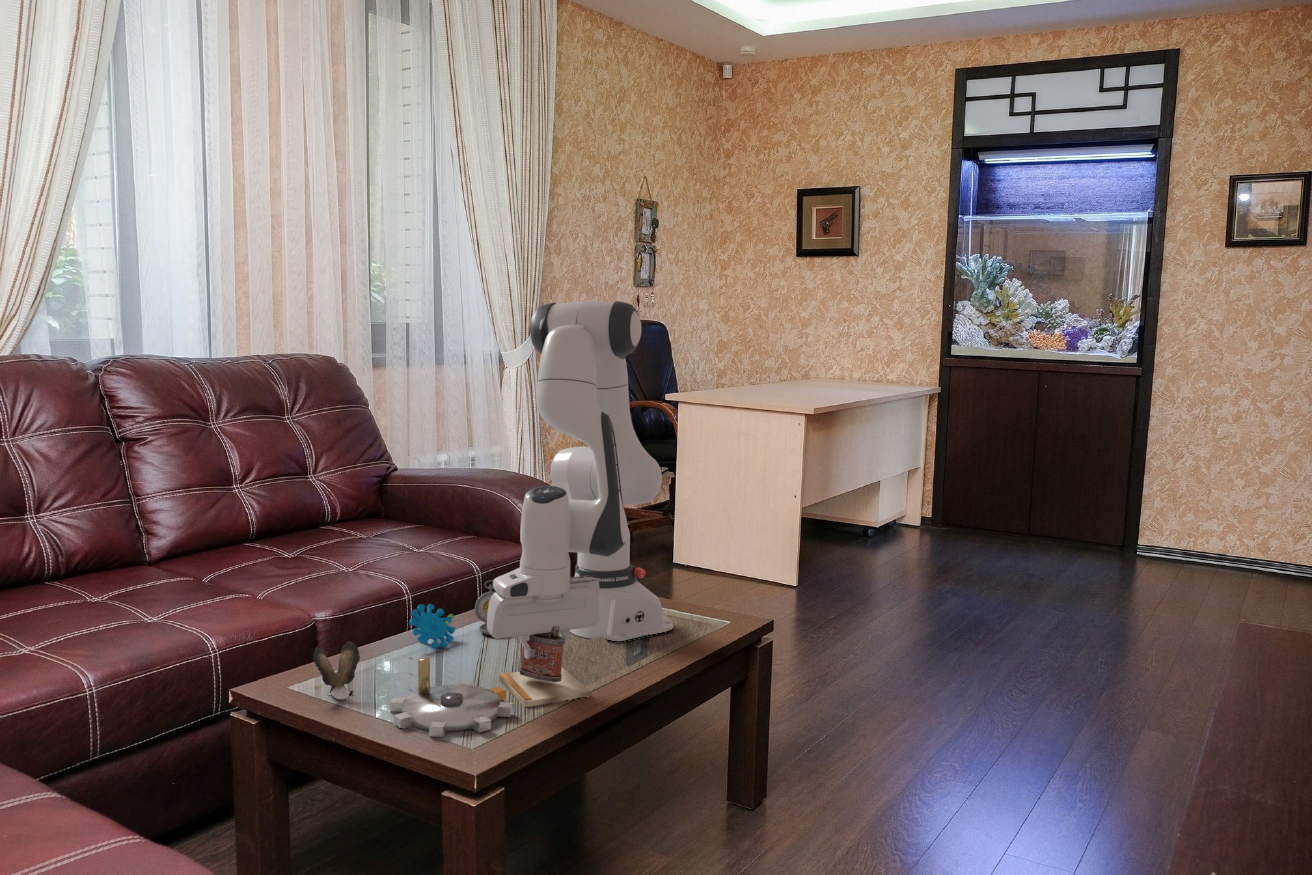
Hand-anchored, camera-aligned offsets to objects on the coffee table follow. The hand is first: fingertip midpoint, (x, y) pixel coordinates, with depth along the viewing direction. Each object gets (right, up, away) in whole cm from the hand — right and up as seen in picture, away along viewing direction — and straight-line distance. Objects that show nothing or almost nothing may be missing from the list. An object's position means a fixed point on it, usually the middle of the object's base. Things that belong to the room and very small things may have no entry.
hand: (543, 655), depth 180 cm
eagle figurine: (-35, -6, -6) cm, 36 cm away
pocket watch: (-14, -2, +33) cm, 36 cm away
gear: (-23, -4, +21) cm, 31 cm away
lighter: (-1, -4, 0) cm, 4 cm away
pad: (0, -6, +1) cm, 6 cm away
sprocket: (-14, -7, -12) cm, 20 cm away
